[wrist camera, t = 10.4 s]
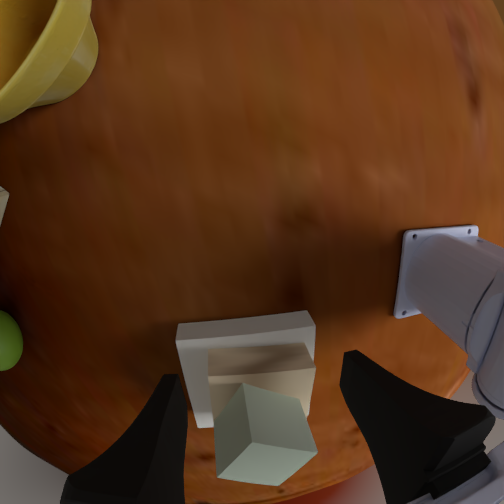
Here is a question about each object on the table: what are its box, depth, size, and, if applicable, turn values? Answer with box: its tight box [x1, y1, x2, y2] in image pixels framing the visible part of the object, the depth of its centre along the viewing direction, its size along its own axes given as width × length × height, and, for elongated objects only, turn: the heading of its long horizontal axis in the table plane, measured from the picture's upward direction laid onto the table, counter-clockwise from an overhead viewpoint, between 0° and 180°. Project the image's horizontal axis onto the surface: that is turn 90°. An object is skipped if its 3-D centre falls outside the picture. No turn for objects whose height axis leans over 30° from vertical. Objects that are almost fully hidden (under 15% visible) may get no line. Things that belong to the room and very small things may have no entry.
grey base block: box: [175, 310, 316, 428], centre depth 24 cm, size 10×10×3 cm
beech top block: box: [208, 343, 316, 423], centre depth 21 cm, size 7×7×3 cm
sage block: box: [214, 383, 318, 486], centre depth 17 cm, size 4×4×5 cm
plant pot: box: [0, 0, 98, 123], centre depth 10 cm, size 10×10×10 cm
